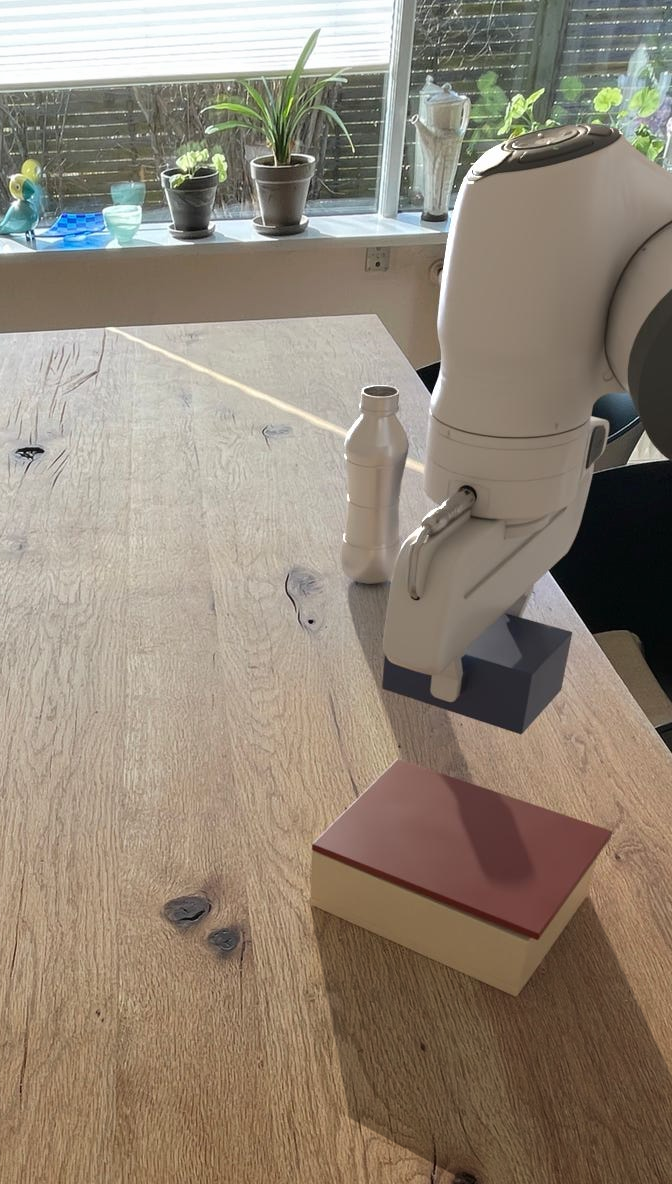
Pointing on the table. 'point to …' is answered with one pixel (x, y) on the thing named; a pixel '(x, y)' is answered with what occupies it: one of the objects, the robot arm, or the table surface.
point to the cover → (465, 846)
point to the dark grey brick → (498, 674)
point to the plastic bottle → (374, 487)
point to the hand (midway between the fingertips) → (474, 668)
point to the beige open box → (437, 924)
